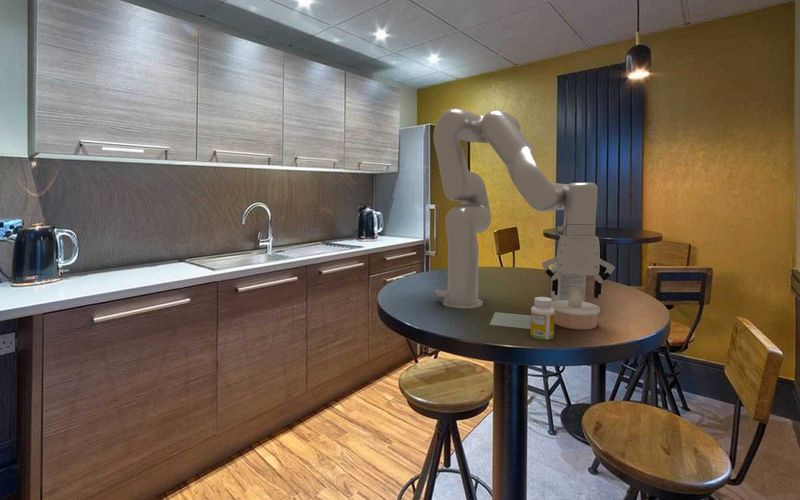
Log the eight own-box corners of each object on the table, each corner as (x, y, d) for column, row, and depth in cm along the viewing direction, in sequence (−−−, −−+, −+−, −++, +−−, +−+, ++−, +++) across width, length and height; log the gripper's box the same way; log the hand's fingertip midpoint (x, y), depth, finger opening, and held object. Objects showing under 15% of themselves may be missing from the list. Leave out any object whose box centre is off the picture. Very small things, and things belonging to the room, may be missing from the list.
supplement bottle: (546, 333, 98) (548, 295, 97) (557, 341, 93) (559, 301, 91) (526, 334, 97) (527, 296, 96) (536, 342, 92) (537, 301, 91)
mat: (489, 326, 103) (489, 324, 103) (495, 314, 114) (495, 312, 114) (537, 331, 99) (537, 329, 99) (538, 318, 110) (538, 316, 110)
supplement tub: (590, 310, 118) (593, 261, 116) (572, 315, 113) (574, 265, 111) (562, 303, 126) (564, 258, 124) (543, 307, 121) (545, 260, 119)
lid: (550, 312, 100) (551, 292, 99) (550, 301, 111) (551, 282, 111) (602, 317, 96) (604, 296, 95) (597, 305, 107) (598, 285, 106)
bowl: (553, 328, 101) (553, 312, 101) (552, 317, 111) (553, 302, 110) (598, 333, 97) (599, 316, 97) (593, 321, 107) (594, 305, 107)
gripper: (543, 231, 101) (540, 296, 103) (619, 233, 95) (614, 301, 97) (543, 229, 107) (541, 290, 110) (614, 230, 102) (610, 294, 104)
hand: (575, 295), depth 103 cm, fingers open, 9 cm apart
